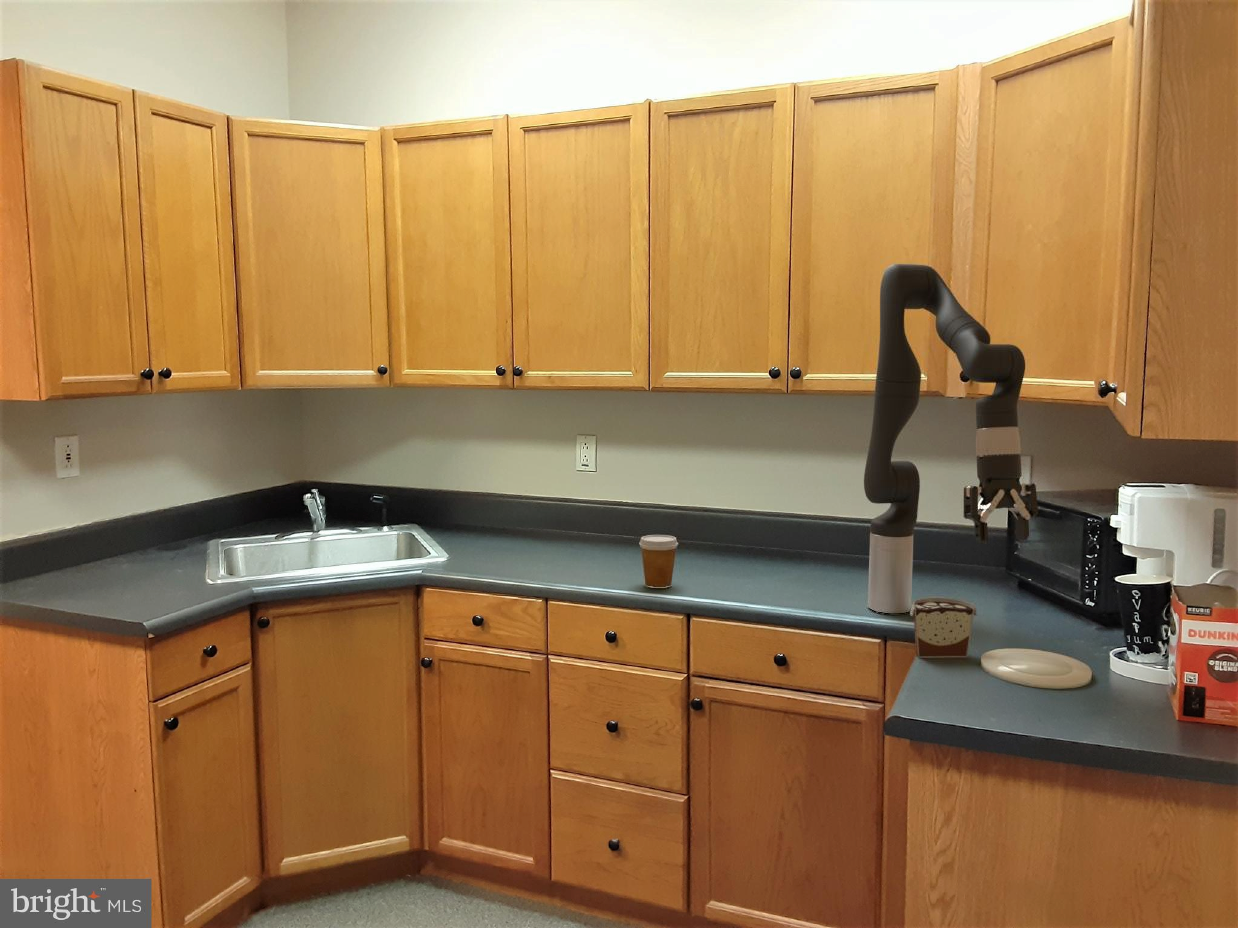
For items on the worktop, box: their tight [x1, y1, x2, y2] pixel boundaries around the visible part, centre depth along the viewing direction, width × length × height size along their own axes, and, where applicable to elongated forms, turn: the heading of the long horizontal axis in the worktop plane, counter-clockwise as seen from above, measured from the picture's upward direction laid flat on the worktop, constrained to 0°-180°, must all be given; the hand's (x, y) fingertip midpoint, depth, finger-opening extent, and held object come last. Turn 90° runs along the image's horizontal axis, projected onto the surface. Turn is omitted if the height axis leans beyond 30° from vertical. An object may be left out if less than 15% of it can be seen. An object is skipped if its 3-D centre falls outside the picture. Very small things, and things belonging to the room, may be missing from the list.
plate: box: [980, 648, 1093, 690], centre depth 163 cm, size 18×18×1 cm
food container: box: [909, 597, 978, 659], centre depth 173 cm, size 12×6×10 cm, turn 92°
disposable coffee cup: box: [638, 534, 679, 587], centre depth 223 cm, size 10×10×12 cm
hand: (1002, 541), depth 166 cm, fingers open, 8 cm apart
